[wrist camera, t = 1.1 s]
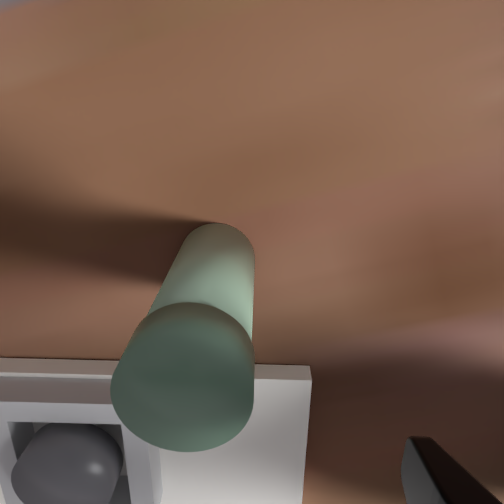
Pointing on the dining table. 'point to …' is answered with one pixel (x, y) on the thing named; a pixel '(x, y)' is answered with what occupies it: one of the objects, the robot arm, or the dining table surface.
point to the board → (154, 458)
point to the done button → (68, 466)
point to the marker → (193, 348)
